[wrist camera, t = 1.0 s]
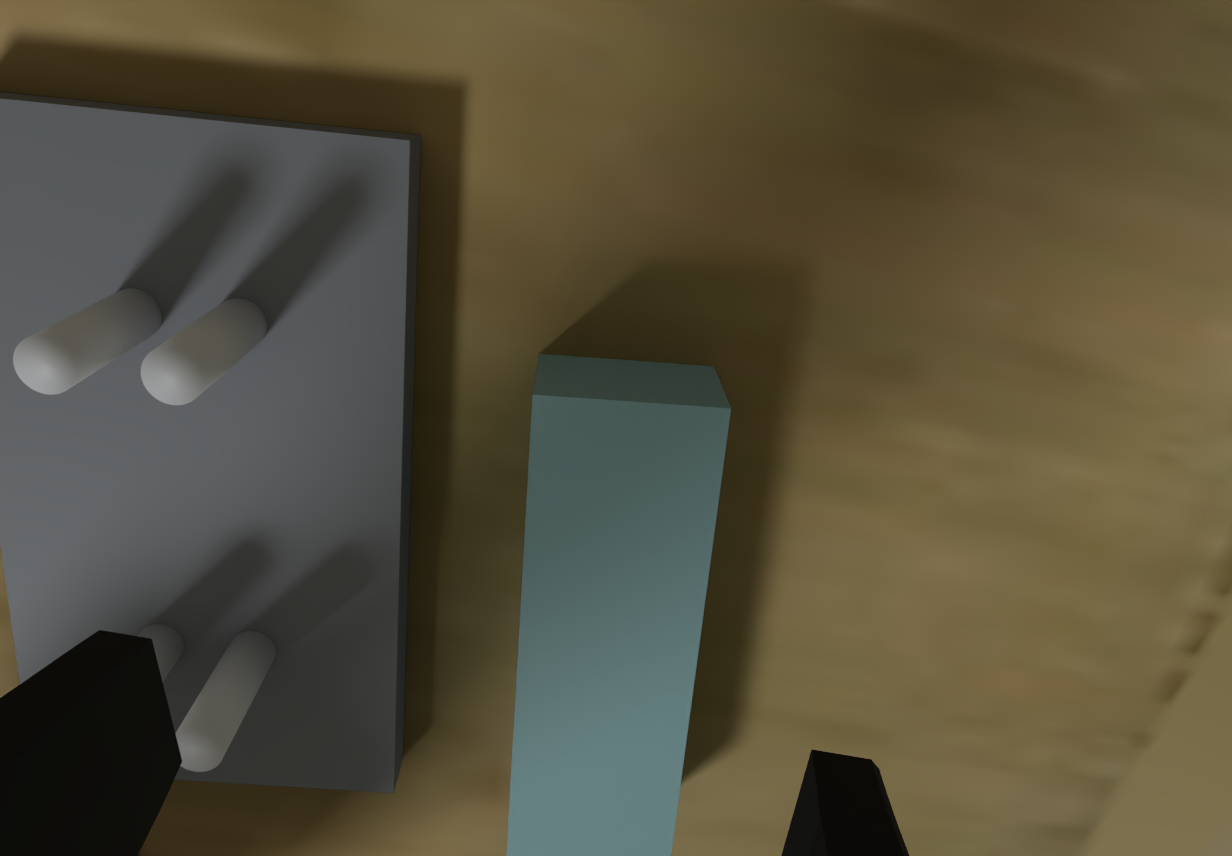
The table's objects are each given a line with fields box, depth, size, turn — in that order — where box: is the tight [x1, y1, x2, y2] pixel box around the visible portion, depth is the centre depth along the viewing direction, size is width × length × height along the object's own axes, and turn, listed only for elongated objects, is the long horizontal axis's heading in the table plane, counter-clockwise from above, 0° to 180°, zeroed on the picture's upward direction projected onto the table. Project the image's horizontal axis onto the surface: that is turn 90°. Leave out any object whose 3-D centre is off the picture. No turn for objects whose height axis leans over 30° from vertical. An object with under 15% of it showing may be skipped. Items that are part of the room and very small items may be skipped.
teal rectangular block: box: [507, 354, 731, 856], centre depth 26 cm, size 14×4×4 cm, turn 175°
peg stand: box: [0, 92, 421, 793], centre depth 23 cm, size 18×10×6 cm, turn 174°
